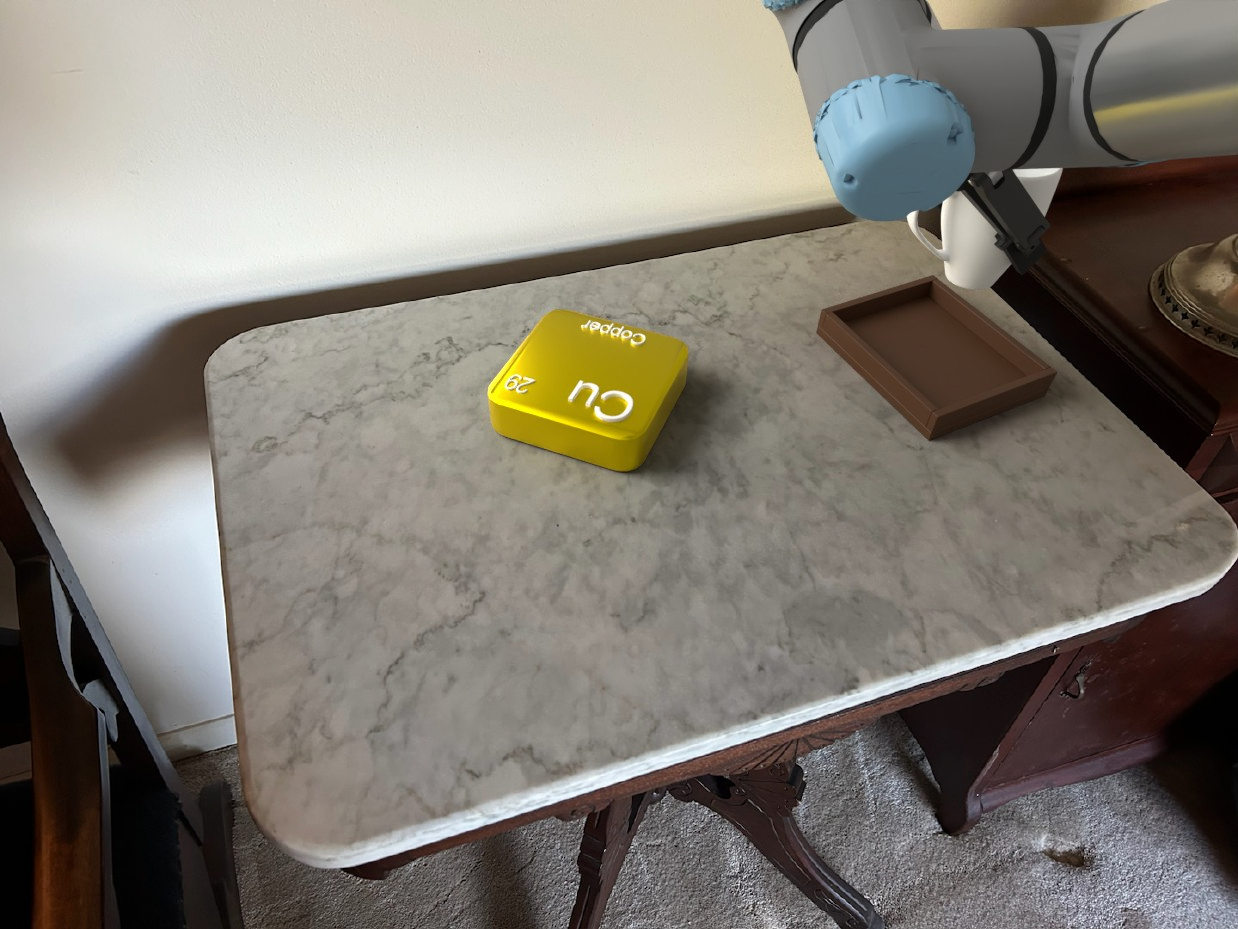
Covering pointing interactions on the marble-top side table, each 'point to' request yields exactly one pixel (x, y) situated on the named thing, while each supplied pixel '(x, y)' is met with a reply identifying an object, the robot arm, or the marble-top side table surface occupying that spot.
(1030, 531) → the marble-top side table surface
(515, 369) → the element tile
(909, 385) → the tray
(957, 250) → the mug
